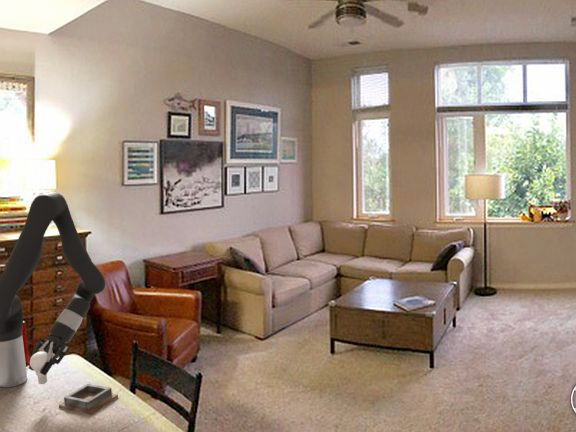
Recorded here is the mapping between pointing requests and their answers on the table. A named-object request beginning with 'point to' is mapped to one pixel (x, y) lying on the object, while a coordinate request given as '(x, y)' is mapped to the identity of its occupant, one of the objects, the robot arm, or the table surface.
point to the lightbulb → (39, 365)
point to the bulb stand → (88, 399)
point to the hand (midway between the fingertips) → (36, 371)
